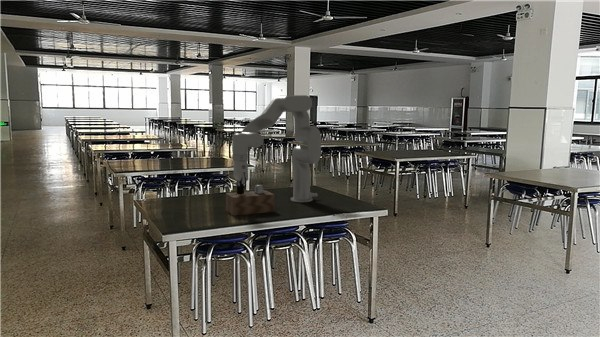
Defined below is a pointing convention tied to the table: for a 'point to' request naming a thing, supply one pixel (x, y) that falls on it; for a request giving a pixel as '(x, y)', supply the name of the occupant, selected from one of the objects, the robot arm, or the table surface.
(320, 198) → the table surface
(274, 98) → the robot arm
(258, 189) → the steel peg
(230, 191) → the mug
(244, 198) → the walnut block
